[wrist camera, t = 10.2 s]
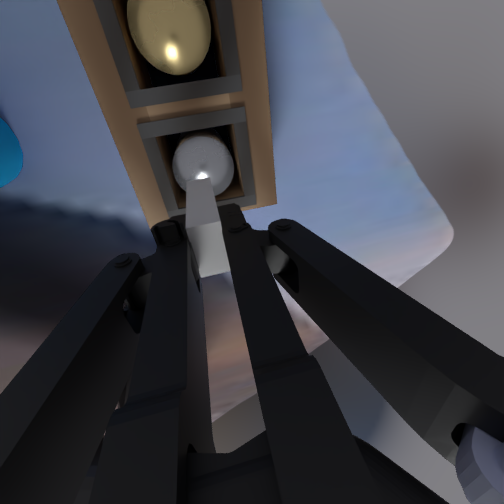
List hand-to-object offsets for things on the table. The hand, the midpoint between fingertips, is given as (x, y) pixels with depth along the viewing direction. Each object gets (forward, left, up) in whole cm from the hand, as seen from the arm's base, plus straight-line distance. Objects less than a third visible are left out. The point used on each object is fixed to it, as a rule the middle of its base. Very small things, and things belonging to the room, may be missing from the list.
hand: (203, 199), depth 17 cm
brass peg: (0, +9, -13) cm, 16 cm away
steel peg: (0, 0, -13) cm, 13 cm away
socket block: (0, +5, -13) cm, 14 cm away
